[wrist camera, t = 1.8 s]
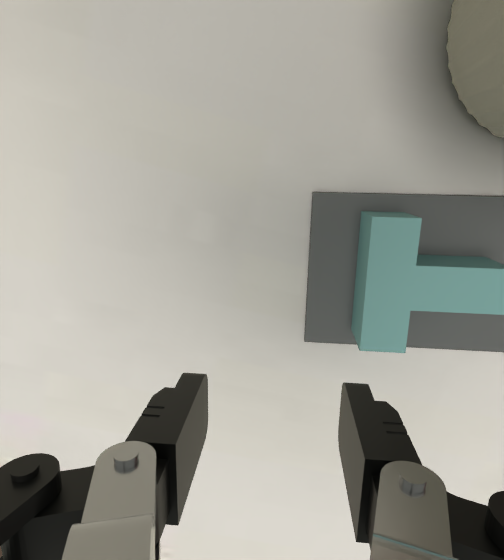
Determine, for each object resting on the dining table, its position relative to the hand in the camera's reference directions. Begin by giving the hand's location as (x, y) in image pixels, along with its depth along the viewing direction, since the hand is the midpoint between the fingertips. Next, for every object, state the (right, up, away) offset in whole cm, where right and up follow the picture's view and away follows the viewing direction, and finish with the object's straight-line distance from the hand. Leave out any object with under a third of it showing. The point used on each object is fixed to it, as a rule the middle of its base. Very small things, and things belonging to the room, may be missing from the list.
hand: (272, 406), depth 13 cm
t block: (+12, +4, +17) cm, 21 cm away
